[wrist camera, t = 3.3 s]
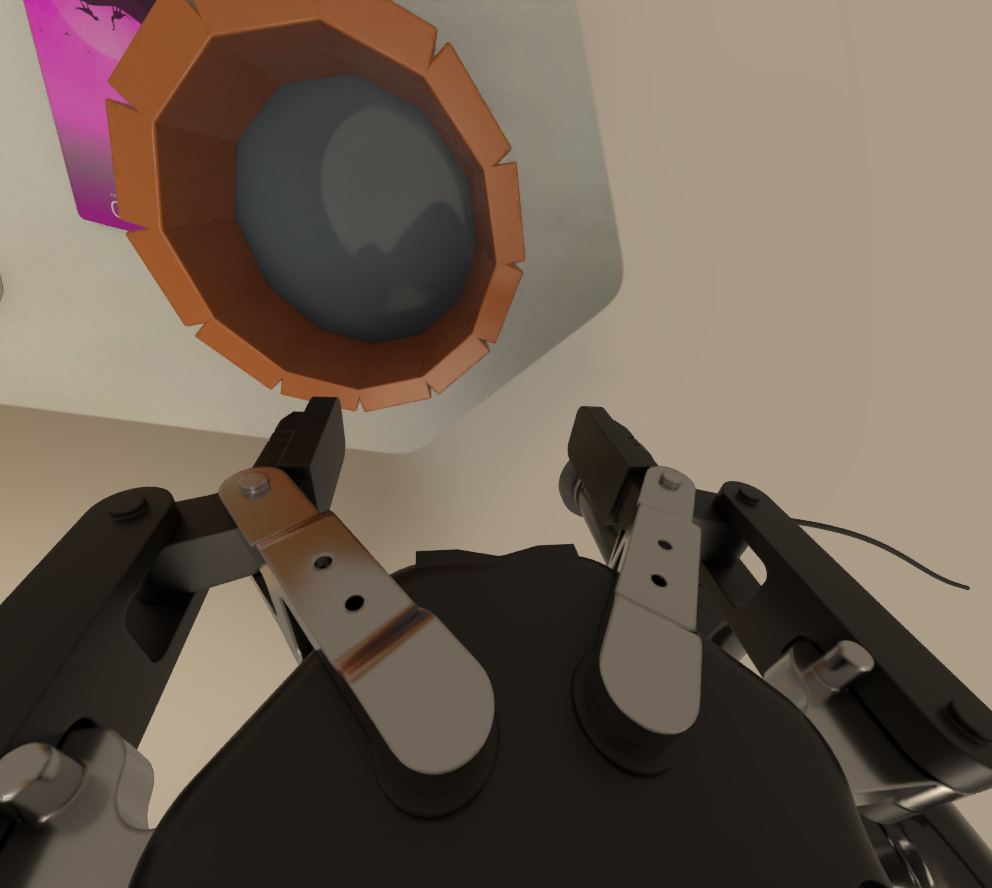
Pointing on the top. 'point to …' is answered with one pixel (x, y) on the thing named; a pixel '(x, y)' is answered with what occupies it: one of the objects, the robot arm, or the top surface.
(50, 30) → the smartphone
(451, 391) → the top surface
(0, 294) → the white patterned cylinder
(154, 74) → the ring
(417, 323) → the stand
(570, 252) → the top surface
